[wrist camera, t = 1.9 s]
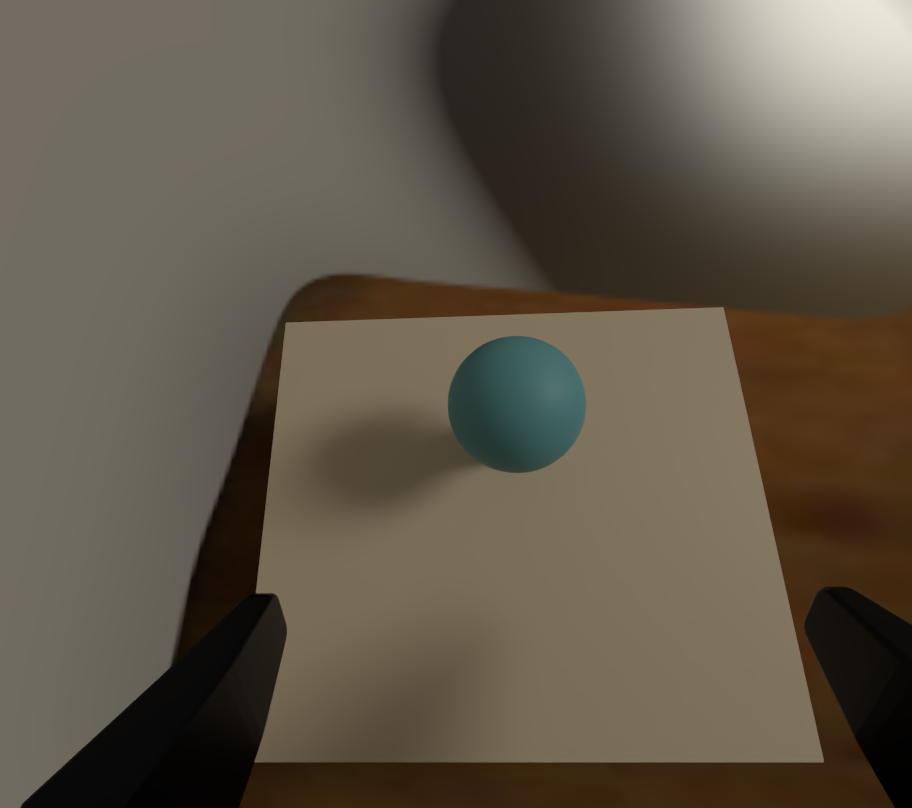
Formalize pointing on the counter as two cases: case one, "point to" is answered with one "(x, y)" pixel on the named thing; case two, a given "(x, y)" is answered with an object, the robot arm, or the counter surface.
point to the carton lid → (525, 546)
